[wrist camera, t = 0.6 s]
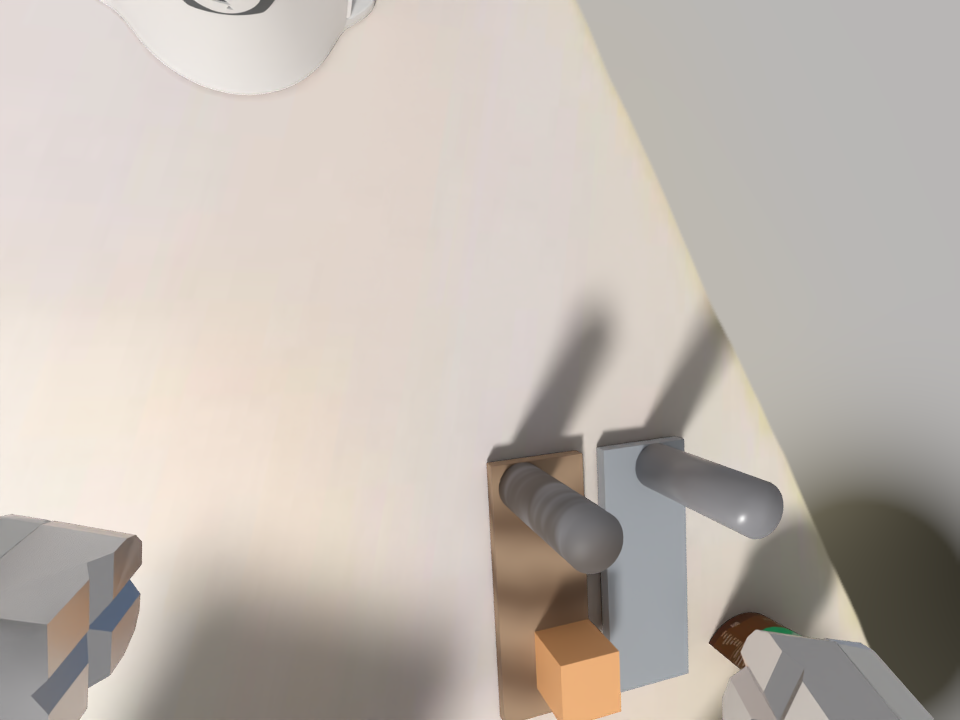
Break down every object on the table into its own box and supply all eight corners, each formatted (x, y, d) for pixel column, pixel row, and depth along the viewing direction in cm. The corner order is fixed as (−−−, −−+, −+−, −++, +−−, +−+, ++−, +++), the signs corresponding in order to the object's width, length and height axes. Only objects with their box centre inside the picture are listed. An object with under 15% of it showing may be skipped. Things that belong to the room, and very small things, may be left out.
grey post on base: (596, 447, 50) (697, 492, 38) (675, 436, 53) (795, 475, 40) (604, 686, 53) (702, 804, 40) (680, 665, 55) (794, 770, 42)
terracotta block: (534, 631, 49) (560, 666, 44) (588, 618, 50) (619, 651, 45) (537, 688, 49) (563, 728, 44) (590, 673, 51) (621, 711, 46)
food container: (809, 629, 60) (907, 689, 50) (781, 683, 59) (874, 754, 50) (729, 580, 56) (817, 634, 47) (697, 637, 56) (781, 704, 46)
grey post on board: (486, 462, 47) (556, 517, 35) (575, 450, 50) (670, 497, 37) (500, 715, 50) (570, 852, 37) (584, 692, 52) (677, 813, 39)
